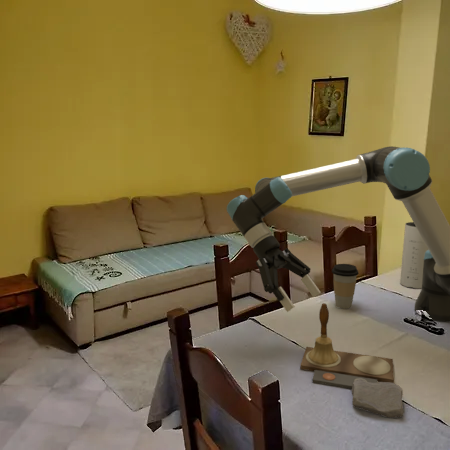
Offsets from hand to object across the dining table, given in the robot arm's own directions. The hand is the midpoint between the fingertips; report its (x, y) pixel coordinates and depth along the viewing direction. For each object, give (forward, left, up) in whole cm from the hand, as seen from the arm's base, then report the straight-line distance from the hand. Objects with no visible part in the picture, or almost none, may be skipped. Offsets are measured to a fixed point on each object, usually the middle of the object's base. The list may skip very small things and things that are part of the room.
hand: (304, 302), depth 126 cm
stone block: (-20, +18, -17) cm, 32 cm away
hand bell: (-6, +2, -15) cm, 17 cm away
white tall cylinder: (-34, -72, -17) cm, 82 cm away
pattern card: (-12, +10, -17) cm, 23 cm away
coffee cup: (-8, -41, -17) cm, 45 cm away
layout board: (-12, +2, -17) cm, 21 cm away
